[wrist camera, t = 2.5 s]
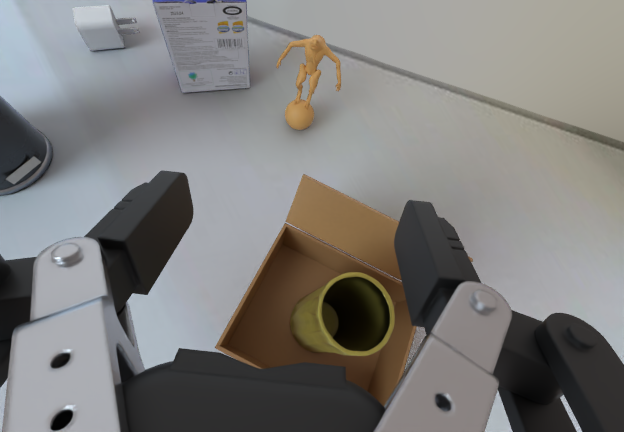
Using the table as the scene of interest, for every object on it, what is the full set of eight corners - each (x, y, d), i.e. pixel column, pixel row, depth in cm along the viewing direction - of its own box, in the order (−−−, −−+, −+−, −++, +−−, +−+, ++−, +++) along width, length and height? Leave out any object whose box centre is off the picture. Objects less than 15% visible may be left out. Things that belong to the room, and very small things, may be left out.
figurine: (265, 124, 41) (267, 46, 30) (280, 94, 43) (287, 13, 33) (320, 145, 41) (342, 75, 30) (332, 114, 44) (356, 40, 33)
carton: (223, 345, 30) (214, 347, 24) (281, 241, 35) (285, 222, 29) (360, 418, 29) (384, 437, 24) (398, 301, 34) (426, 294, 29)
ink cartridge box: (245, 61, 45) (239, -54, 32) (252, 89, 43) (248, -21, 30) (177, 65, 42) (139, -58, 29) (181, 94, 41) (143, -22, 27)
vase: (324, 365, 30) (373, 387, 17) (278, 328, 31) (291, 322, 18) (355, 315, 33) (417, 301, 20) (311, 282, 33) (344, 247, 20)
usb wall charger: (88, 33, 42) (72, 4, 38) (140, 29, 44) (129, 1, 40) (91, 53, 41) (75, 25, 37) (144, 47, 43) (134, 20, 39)
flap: (302, 175, 24) (303, 173, 24) (285, 221, 29) (286, 219, 29) (473, 261, 24) (472, 258, 24) (428, 294, 28) (428, 291, 28)
